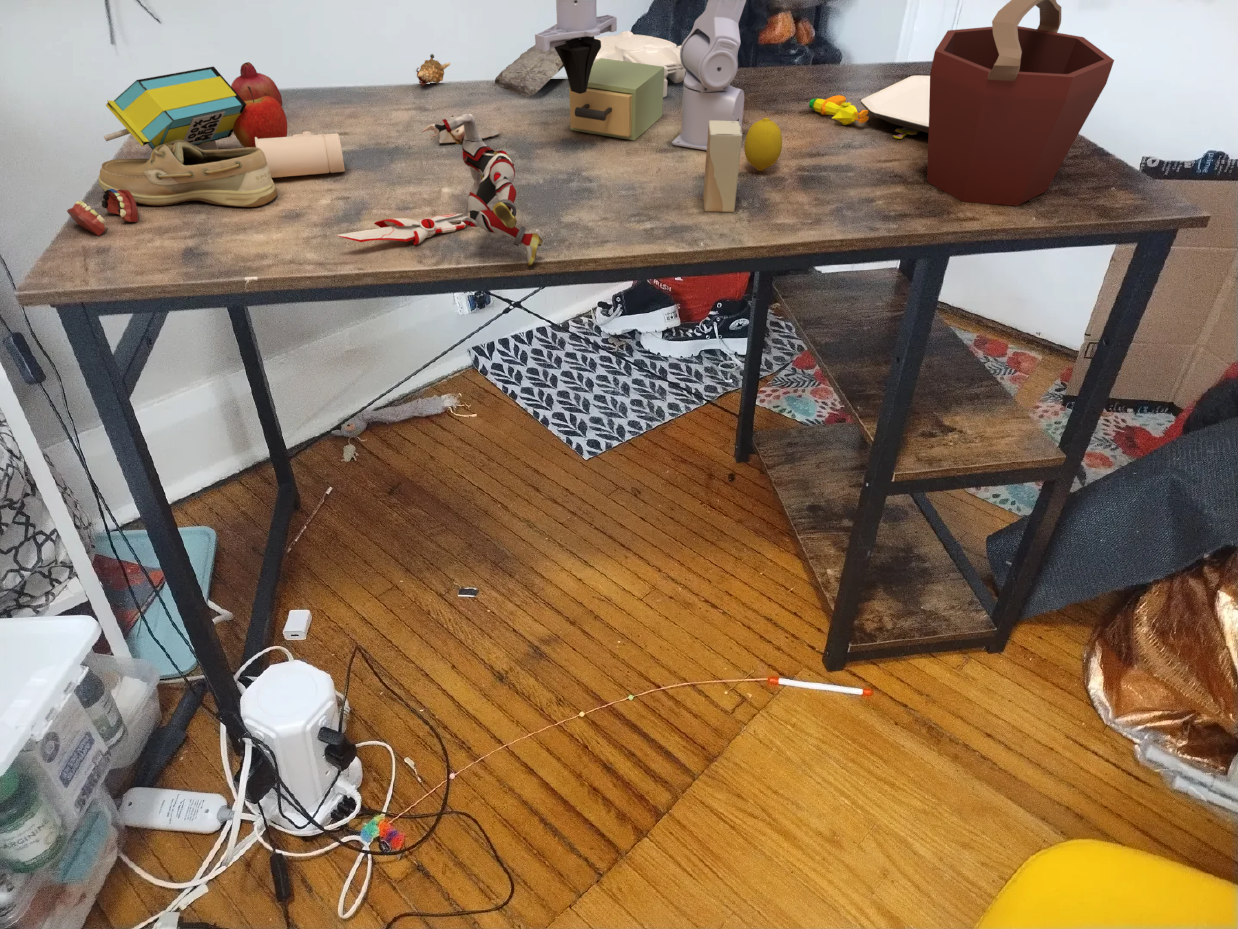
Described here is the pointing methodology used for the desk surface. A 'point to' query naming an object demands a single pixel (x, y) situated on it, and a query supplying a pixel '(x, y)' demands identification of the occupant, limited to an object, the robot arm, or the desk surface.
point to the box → (722, 165)
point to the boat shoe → (193, 176)
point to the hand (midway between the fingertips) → (578, 91)
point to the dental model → (114, 203)
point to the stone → (530, 71)
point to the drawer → (601, 111)
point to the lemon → (763, 144)
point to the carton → (178, 108)
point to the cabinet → (631, 91)
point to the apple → (260, 121)
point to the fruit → (255, 84)
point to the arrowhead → (483, 133)
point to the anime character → (489, 180)
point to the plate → (903, 103)
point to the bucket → (1009, 104)
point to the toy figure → (838, 109)
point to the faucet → (302, 154)
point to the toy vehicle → (644, 53)
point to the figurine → (431, 71)
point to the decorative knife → (905, 132)
